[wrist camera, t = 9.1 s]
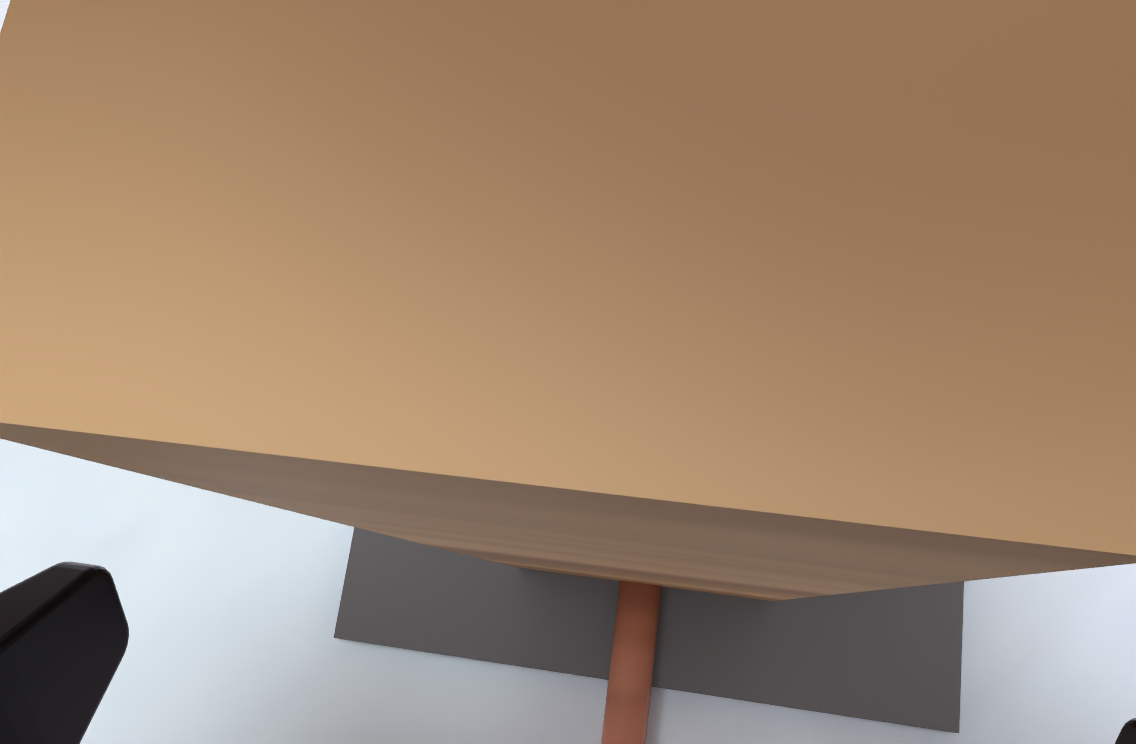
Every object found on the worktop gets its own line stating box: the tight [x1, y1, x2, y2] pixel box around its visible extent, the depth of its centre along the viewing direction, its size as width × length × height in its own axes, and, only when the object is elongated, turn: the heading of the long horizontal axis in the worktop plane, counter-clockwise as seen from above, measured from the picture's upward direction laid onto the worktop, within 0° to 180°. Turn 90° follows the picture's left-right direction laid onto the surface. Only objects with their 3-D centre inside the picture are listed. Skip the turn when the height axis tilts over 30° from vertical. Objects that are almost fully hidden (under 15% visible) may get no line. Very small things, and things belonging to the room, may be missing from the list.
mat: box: [334, 527, 964, 733], centre depth 18 cm, size 8×12×1 cm, turn 82°
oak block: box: [0, 0, 1136, 744], centre depth 11 cm, size 9×5×15 cm, turn 172°
